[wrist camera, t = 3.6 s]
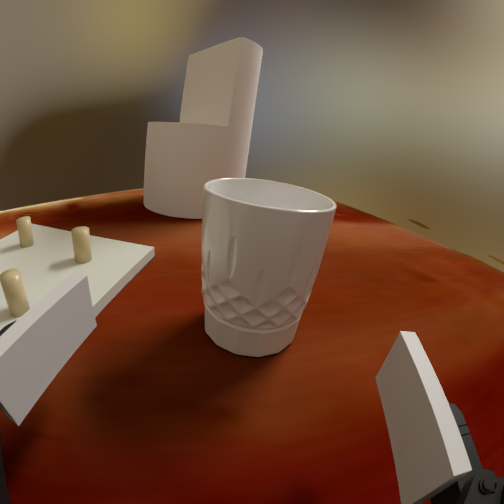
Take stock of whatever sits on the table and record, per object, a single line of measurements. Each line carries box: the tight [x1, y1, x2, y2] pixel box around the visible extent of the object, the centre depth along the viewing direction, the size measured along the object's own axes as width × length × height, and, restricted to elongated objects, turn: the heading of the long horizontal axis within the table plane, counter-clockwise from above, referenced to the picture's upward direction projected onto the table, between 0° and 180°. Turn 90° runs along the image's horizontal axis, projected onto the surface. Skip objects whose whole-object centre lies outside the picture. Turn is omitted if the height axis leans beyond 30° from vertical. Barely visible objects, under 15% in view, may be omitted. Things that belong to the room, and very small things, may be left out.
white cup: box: [201, 178, 336, 357], centre depth 19 cm, size 8×8×10 cm
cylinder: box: [143, 37, 263, 219], centre depth 43 cm, size 17×17×28 cm
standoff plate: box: [0, 216, 154, 330], centre depth 19 cm, size 20×20×4 cm
